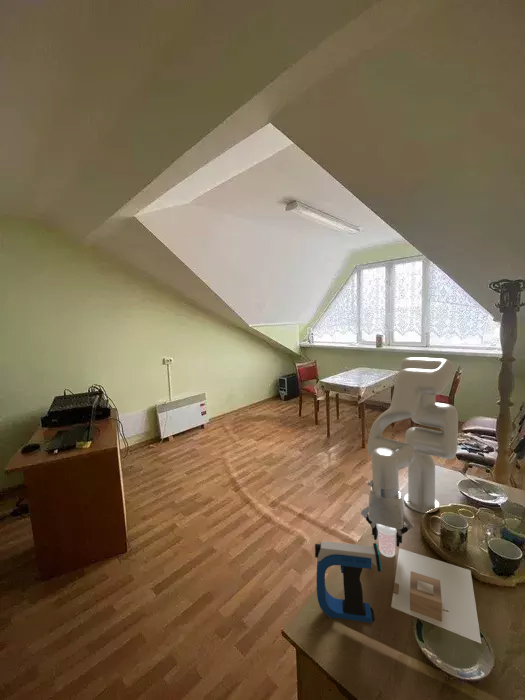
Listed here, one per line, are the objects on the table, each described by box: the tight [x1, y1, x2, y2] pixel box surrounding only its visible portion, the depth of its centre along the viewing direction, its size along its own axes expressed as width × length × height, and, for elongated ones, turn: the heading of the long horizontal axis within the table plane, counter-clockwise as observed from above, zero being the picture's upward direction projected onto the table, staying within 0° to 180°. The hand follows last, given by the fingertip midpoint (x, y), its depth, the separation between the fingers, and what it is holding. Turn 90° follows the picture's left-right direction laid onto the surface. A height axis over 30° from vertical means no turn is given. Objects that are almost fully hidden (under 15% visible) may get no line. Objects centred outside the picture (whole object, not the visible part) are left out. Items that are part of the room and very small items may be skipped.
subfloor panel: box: [390, 547, 482, 644], centre depth 81 cm, size 22×24×2 cm
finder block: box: [410, 571, 442, 622], centre depth 76 cm, size 7×7×5 cm
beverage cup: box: [376, 524, 397, 558], centre depth 93 cm, size 6×6×14 cm
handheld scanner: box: [314, 540, 383, 624], centre depth 75 cm, size 5×16×20 cm, turn 78°
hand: (386, 539), depth 94 cm, fingers closed on beverage cup, 6 cm apart
